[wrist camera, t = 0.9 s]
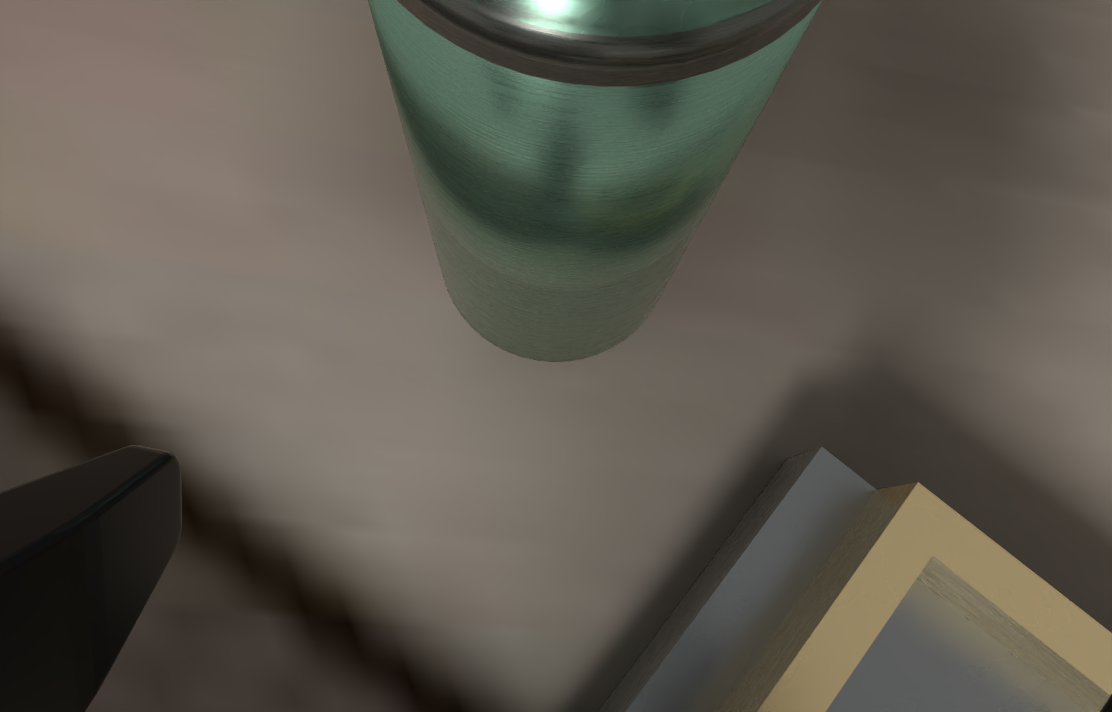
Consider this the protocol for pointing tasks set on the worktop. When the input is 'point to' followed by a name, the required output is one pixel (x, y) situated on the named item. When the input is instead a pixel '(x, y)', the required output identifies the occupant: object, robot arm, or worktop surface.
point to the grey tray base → (866, 614)
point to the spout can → (575, 147)
